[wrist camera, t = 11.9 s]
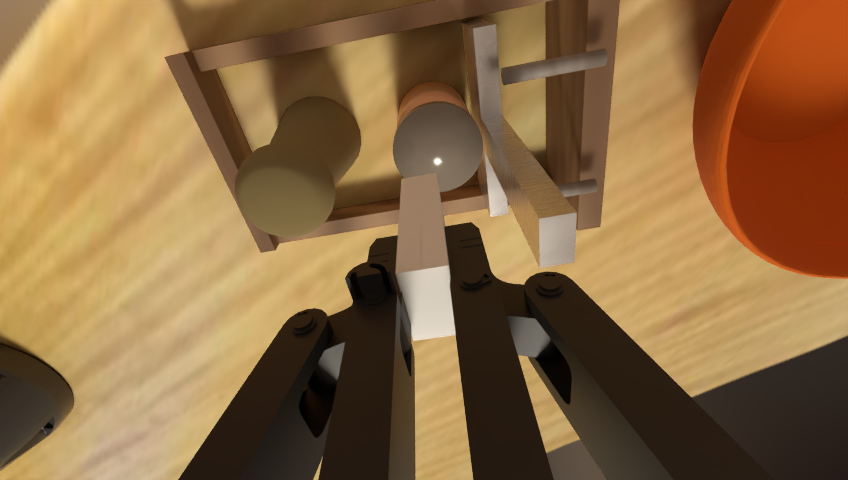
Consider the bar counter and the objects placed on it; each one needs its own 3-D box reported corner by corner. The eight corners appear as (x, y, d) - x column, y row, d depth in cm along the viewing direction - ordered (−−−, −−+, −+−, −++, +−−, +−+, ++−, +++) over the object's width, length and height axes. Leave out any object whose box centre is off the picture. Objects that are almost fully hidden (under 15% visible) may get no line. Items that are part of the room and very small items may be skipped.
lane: (272, 232, 33) (234, 297, 26) (189, 51, 25) (102, 72, 18) (564, 183, 31) (609, 237, 24) (570, -29, 24) (638, -39, 17)
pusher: (478, 183, 31) (541, 357, 16) (461, 22, 25) (536, 61, 10) (493, 180, 31) (570, 353, 16) (479, 18, 24) (584, 52, 10)
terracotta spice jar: (404, 156, 30) (403, 198, 24) (390, 87, 27) (383, 114, 21) (471, 144, 29) (487, 184, 23) (463, 73, 27) (478, 96, 20)
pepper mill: (293, 80, 27) (229, 126, 17) (373, 120, 28) (355, 181, 19) (270, 155, 29) (205, 229, 20) (344, 187, 31) (316, 269, 22)
